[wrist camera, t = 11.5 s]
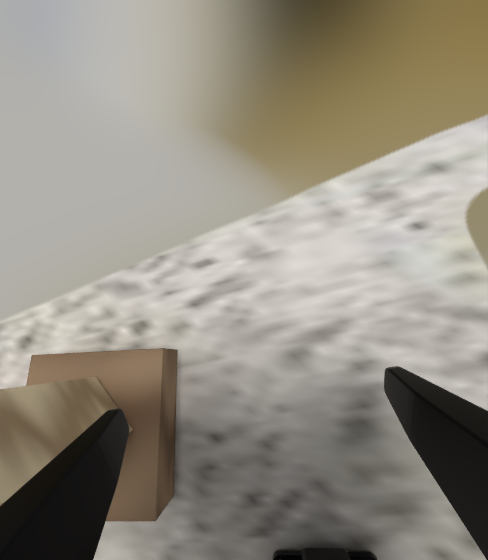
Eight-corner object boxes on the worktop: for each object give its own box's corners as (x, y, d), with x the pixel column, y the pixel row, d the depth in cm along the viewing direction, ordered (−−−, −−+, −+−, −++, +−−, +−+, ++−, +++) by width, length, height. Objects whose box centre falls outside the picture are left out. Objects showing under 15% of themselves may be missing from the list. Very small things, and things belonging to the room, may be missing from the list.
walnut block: (175, 493, 19) (155, 521, 16) (46, 494, 20) (1, 520, 17) (179, 350, 22) (162, 348, 19) (66, 356, 23) (31, 355, 20)
